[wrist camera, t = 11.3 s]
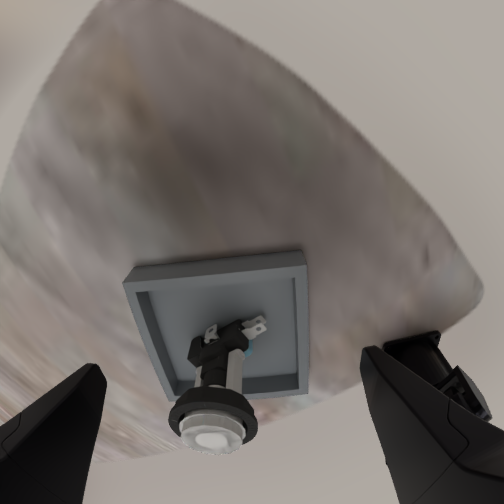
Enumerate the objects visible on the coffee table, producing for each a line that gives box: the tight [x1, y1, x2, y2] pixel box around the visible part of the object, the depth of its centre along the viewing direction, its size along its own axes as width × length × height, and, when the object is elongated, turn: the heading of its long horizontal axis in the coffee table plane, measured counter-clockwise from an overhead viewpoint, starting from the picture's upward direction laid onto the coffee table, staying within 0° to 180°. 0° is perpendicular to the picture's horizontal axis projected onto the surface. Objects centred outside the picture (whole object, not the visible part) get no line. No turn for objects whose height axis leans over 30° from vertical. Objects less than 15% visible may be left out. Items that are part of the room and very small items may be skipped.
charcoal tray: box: [122, 250, 309, 401], centre depth 23 cm, size 13×13×2 cm
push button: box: [168, 315, 267, 455], centre depth 19 cm, size 7×5×10 cm
